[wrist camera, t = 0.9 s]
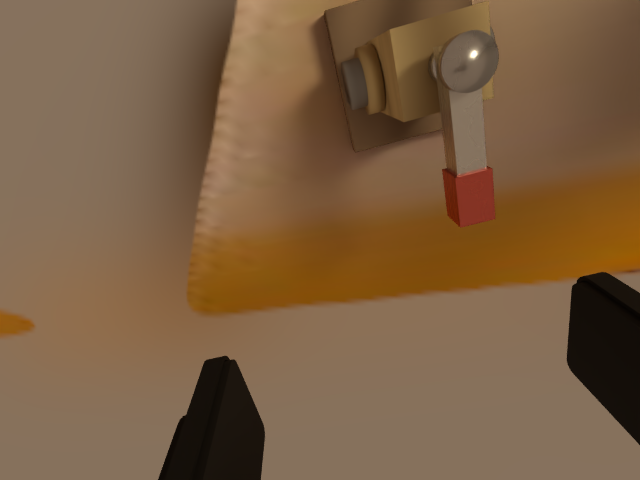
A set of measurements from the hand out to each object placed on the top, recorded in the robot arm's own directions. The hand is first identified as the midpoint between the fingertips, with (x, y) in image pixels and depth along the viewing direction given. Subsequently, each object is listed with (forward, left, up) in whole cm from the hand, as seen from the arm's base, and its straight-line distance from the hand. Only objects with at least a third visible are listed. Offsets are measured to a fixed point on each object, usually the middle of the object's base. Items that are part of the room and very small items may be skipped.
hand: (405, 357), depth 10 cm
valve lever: (-7, -3, -14) cm, 16 cm away
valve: (-7, -6, -23) cm, 25 cm away
